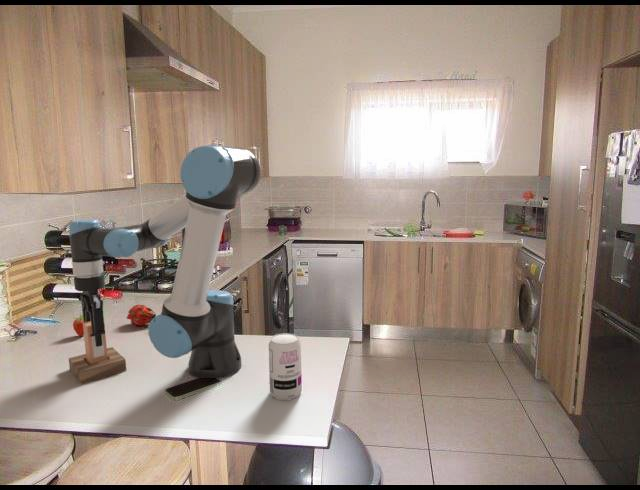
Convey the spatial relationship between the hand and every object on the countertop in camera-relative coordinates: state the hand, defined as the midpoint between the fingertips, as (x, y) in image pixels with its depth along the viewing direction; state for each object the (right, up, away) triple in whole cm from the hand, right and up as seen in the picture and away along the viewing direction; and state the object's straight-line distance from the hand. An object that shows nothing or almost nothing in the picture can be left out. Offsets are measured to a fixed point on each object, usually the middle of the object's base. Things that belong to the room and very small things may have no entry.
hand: (96, 353), depth 126 cm
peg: (0, -3, 0) cm, 3 cm away
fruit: (-19, -1, +28) cm, 34 cm away
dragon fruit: (-2, +1, +39) cm, 39 cm away
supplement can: (+56, -7, -13) cm, 58 cm away
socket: (0, -5, +1) cm, 5 cm away
